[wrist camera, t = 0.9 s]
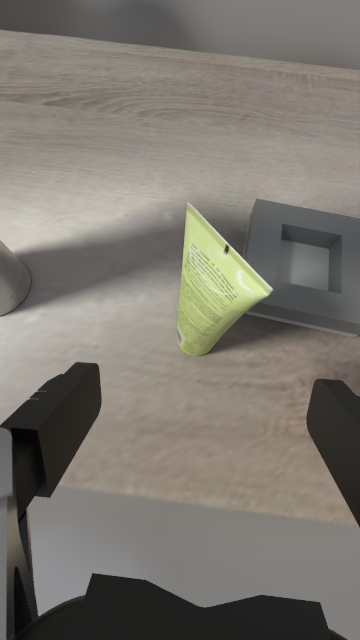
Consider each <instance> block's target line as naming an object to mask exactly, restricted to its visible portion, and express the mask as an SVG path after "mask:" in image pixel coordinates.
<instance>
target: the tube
mask: <svg viewBox="0 0 360 640" xmlns="http://www.w3.org/2000/svg"><path fill="white" fill-rule="evenodd" d="M272 291H273V288H272V287H271V286H270V285H268V284H267V282H266V281H265V280H264V279H263V278H262V277H261V276H260V275H259V274H258V273H257V272H256V271H255V270H254V269H253V268H252V267H251V266H250V265H249V264H248V263H247V262H246V261H245V260H244V259H243V258H242V257H241V256H240V255H239V254H238V253H237V252H236V251H235V250H234V249H233V248H232V247H231V246H230V245H229V244H228V243H227V242H226V240H225V239H224V238H223V237H222V236H221V235H220V234H219V233H218V232H217V231H216V230H215V229H214V228H213V227H212V226H211V224H210V223H209V222H208V221H207V220H206V219H205V218H204V217H203V216H202V215H201V214H200V213H199V212H198V211H197V210H196V209H195V208H194V206H192V205H191V204H190V203H189V202H187V211H186V224H185V237H184V250H183V264H182V277H181V290H180V303H179V314H178V325H177V343H178V345H179V347H180V348H181V350H182V351H184V352H185V353H186V354H188V355H191V356H201V355H204V354H206V353H208V352H209V351H210V350H211V349H212V347H213V346H214V345H215V344H216V342H217V341H218V340H219V339H220V337H221V336H222V335H223V334H224V333H225V332H226V331H227V330H228V329H229V328H230V327H231V326H232V325H233V324H234V323H235V322H236V321H237V320H238V319H239V318H240V317H241V316H242V315H243V314H244V313H245V312H247V311H248V310H249V309H250V308H251V307H253V306H254V305H255V304H257V303H258V302H259V301H261V300H263V299H264V298H266V297H267V296H269V295H270V294H271V292H272Z"/></svg>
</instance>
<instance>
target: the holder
mask: <svg viewBox="0 0 360 640" xmlns="http://www.w3.org/2000/svg"><path fill="white" fill-rule="evenodd" d="M242 258H243V259H244V260H245V261H246V262H247V263H248V264H249V265H250V266H251V267H252V268H253V269H254V270H255V271H256V272H257V273H258V274H259V275H260V276H261V277H262V278H263V279H264V280H265V281H266V282H267V284H268V285H270V286H271V287H272V288H273V291H272V292H271V294H270V295H269V296H267V297H266V298H264V299H263V300H261V301H259V302H258V303H257V304H255V305H254V306H253V307H251V308H250V309H249V310H248V311H247V312H245V313H244V314H248V315H253V316H257V317H262V318H267V319H271V320H276V321H280V322H285V323H289V324H294V325H299V326H303V327H308V328H312V329H317V330H321V331H326V332H331V333H335V334H340V335H344V336H349V337H353V338H354V337H356V336H358V335H360V219H359V218H354V217H348V216H343V215H338V214H333V213H328V212H322V211H317V210H312V209H307V208H302V207H296V206H291V205H286V204H281V203H276V202H270V201H265V200H260V199H256V201H255V204H254V206H253V209H252V212H251V214H250V217H249V220H248V226H247V232H246V238H245V244H244V250H243V255H242Z"/></svg>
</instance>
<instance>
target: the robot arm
mask: <svg viewBox="0 0 360 640" xmlns="http://www.w3.org/2000/svg"><path fill="white" fill-rule="evenodd" d="M30 285H31V276H30V273H29V270H28V269H27V267H26V266H25V265H24V264H23V263H22V262H21V261H20V260H19V259H18V258H17V257H16V256H15V255H14V254H13V253H12V252H11V251H10V250H9V248H8V247H7V246H6V245H5V244H4V243H3V242H2V241H1V240H0V316H1V315H4V314H6V313H8V312H10V311H12V310H13V309H15V308H16V307H17V306H18V305H19V304H20V303H21V302H22V301H23V300H24V299H25V297H26V296H27V294H28V292H29V289H30ZM101 401H102V398H101V386H100V373H99V366H98V364H96V363H83V362H76V363H75V364H74V365H73V366H72V367H71V368H70V369H69V370H68V371H67V372H66V373H65V374H60V375H58V376H56V377H54V378H52V379H51V380H49V381H47V382H46V383H45V384H44V385H43V386H42V387H41V388H40V389H38V392H35V393H34V394H33V395H32V396H31V397H30V399H29V400H27V401H26V402H25V403H24V404H22V405H21V406H20V407H19V408H18V409H17V410H16V411H15V412H14V413H13V414H12V415H11V416H10V417H9V418H7V419H6V420H5V421H4V422H3V423H2V424H1V425H0V640H347V639H345V638H344V637H342V636H341V635H339V634H337V633H336V632H334V631H332V630H330V629H328V626H327V623H326V620H325V617H324V614H323V610H322V607H321V604H320V602H313V601H305V600H296V599H290V598H282V597H274V596H266V595H259V596H255V597H250V598H246V599H242V600H238V601H233V602H230V603H225V604H221V605H216V606H212V607H206V608H203V607H199V606H196V605H194V604H192V603H190V602H188V601H186V600H184V599H182V598H180V597H178V596H176V595H174V594H172V593H170V592H168V591H166V590H164V589H162V588H160V587H158V586H156V585H155V584H153V583H150V582H149V581H146V580H141V579H133V578H126V577H118V576H110V575H102V574H94V573H92V576H91V579H90V582H89V586H88V589H87V592H86V595H84V596H79V597H76V598H74V599H71V600H68V601H66V602H63V603H61V604H60V605H58V606H56V607H54V608H52V609H50V610H48V611H47V612H45V613H44V614H42V615H41V616H39V617H38V609H37V602H36V596H35V589H34V580H33V565H32V553H31V552H32V551H31V537H30V523H29V513H28V508H27V507H28V505H29V504H30V502H31V501H32V499H33V498H34V496H39V497H49V498H50V497H51V495H52V493H53V492H54V490H55V488H56V486H57V485H58V483H59V481H60V480H61V478H62V476H63V474H64V473H65V471H66V469H67V468H68V466H69V464H70V463H71V461H72V459H73V457H74V456H75V454H76V452H77V451H78V449H79V447H80V445H81V444H82V442H83V440H84V439H85V437H86V435H87V433H88V432H89V430H90V428H91V427H92V425H93V423H94V421H95V420H96V418H97V416H98V414H99V412H100V408H101ZM307 428H308V431H309V434H310V436H311V438H312V439H313V441H314V443H315V445H316V447H317V449H318V451H319V452H320V454H321V456H322V458H323V460H324V462H325V464H326V466H327V467H328V469H329V471H330V473H331V475H332V477H333V479H334V480H335V482H336V484H337V486H338V488H339V490H340V492H341V493H342V495H343V497H344V499H345V501H346V503H347V505H348V506H349V508H350V510H351V512H352V514H353V516H354V518H355V519H356V521H357V523H358V525H359V527H360V397H359V396H356V395H355V394H354V393H353V392H352V391H351V390H350V389H349V387H348V386H347V385H346V384H345V383H344V382H343V381H341V380H329V379H317V380H316V381H315V382H314V385H313V389H312V394H311V398H310V403H309V407H308V412H307Z"/></svg>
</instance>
